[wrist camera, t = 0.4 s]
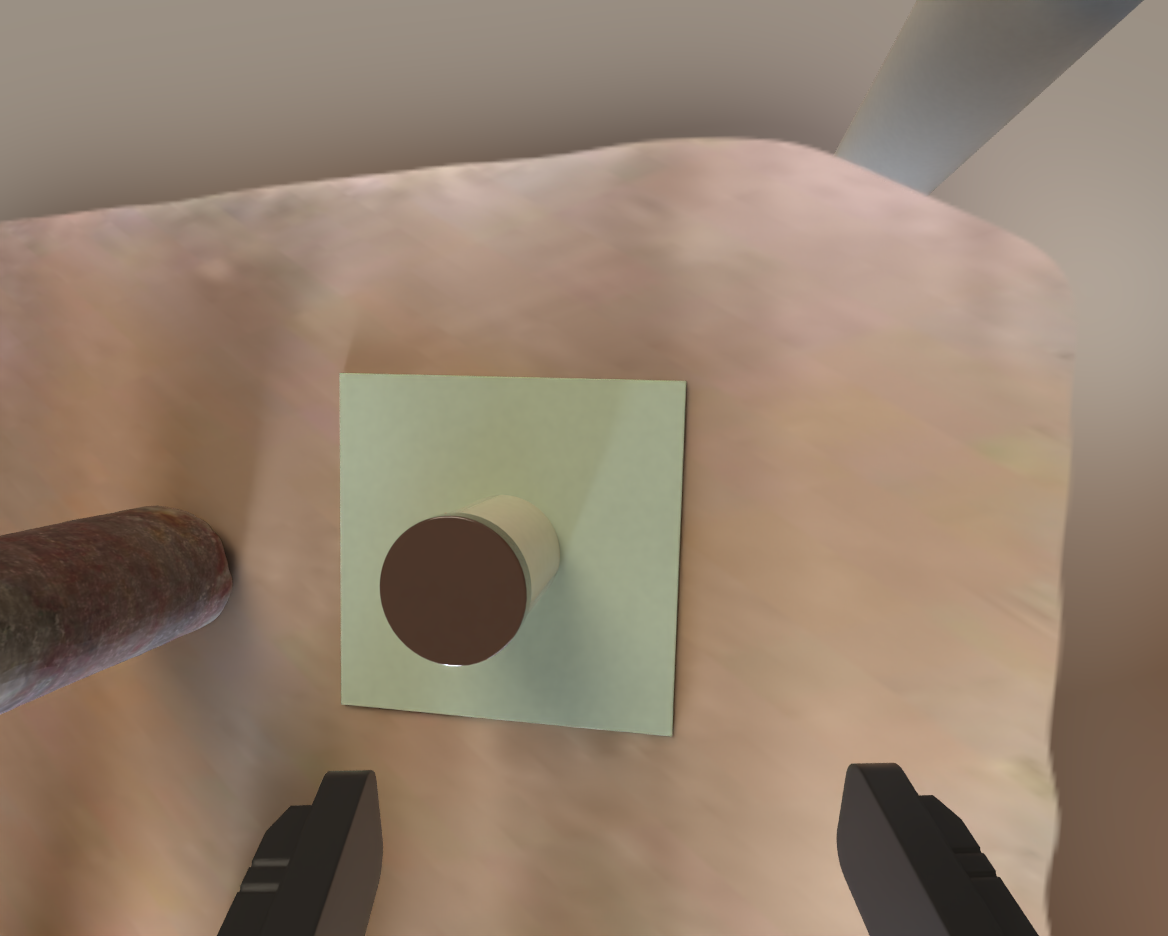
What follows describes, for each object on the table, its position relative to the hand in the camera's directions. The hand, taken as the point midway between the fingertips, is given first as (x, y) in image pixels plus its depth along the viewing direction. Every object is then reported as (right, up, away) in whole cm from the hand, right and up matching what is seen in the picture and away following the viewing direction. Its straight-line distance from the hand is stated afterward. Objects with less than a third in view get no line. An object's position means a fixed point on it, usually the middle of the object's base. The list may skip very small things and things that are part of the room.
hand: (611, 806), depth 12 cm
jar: (-5, +1, +25) cm, 26 cm away
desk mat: (-5, +1, +26) cm, 26 cm away
